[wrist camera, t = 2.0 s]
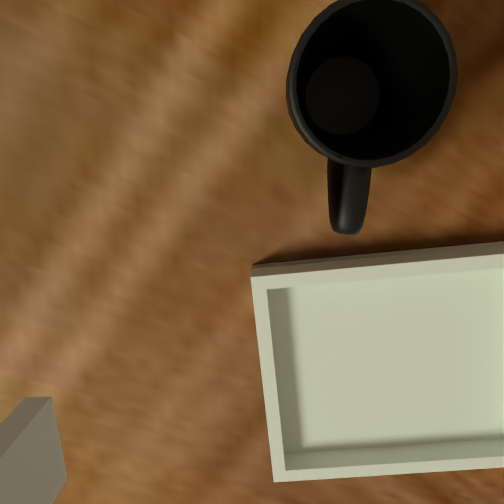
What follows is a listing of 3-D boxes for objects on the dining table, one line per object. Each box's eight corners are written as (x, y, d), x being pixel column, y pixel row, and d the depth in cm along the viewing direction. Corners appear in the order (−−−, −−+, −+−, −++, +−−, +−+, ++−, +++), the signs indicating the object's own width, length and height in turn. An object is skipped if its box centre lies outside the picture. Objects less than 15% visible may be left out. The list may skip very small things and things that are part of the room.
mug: (267, 202, 33) (267, 230, 24) (290, 23, 30) (300, -23, 21) (379, 216, 33) (421, 249, 24) (414, 39, 30) (477, -1, 21)
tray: (252, 264, 35) (250, 277, 32) (524, 239, 33) (548, 249, 31) (273, 456, 39) (274, 482, 36) (515, 439, 38) (536, 465, 35)
